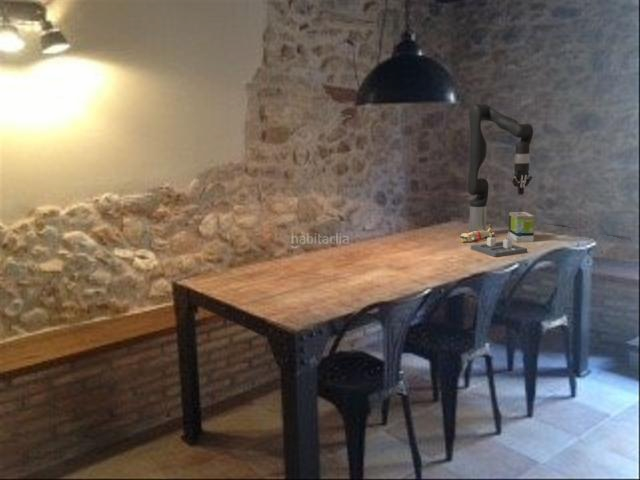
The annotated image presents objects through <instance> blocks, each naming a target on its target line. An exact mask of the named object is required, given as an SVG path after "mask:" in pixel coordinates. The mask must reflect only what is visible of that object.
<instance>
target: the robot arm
mask: <svg viewBox="0 0 640 480" xmlns="http://www.w3.org/2000/svg"><path fill="white" fill-rule="evenodd" d="M468 113H469V116H468V118H469V133H470V134H469V138H470V139H469V140H470V141H469V162H468V163H469V166H468V167H469V168H468V177H467V184H466V185H467V188H466V189H467V192H468V194H469V195H470V196H476V197H475V198H473V199H472V200H471V201H470V203H469V218H468V233H469V232H470V231H471V230H472V231H471V232H474V231H487V203H488V200H489V199H488V198H489V182H488V180H487V179H486V178H484V177H483V178H479V171H480V168H481V166H482V165H483V163H484V161H485V159H486V157H487V142H486V139H485V137H484V135H483V132H482V128H481V127H482V126H481V123H482V121H488V122H492V123H495V125H496V127H498V128H500V129H501V130H504V131H506V132H508V133H509V134H511V135H512V136H513V137H515V138H518V139H520V141H519V142H516V143H515V150H514V151H515V152H514V153H515V154H514V161H513V162H514V167H513V168H514V170H513V171H514V176H513V177H510V181H511V182H512V184H513V186H514V187H516V188H517V194H518V195H520V196H523V195H524V193H525V187H528V186H529V184H530V182H531V181H532V179H533V176H530V173H529V171H530V160H531V159H530V158H531V157H530V147H531V146H530V145H531V143H532V139H533V136H534V128H533V125H532V124H530V123H518V120H516V119H514V118H512V117H510V116H507V115H504V114H503V113H501V112H499V111H498V110H496V109H494V108H493V107H491V106H490V105H488V104H485V103H478V104H477V103H475V104H472V106H470V109H469V112H468Z"/></svg>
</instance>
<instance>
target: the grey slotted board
mask: <svg viewBox="0 0 640 480" xmlns="http://www.w3.org/2000/svg"><path fill="white" fill-rule="evenodd" d="M470 250H473V251H476V252H478V253H481V254H485V255H488V256H490V257H493V258H498V257H505V256H513V255H518V254H527V253H528V248H526V247H523V246H520V245H516V244H513V243H512V248H504V247H503V241H495V246H488V245H487V242H486V243H480V244H472V245H470Z"/></svg>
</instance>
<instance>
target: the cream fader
mask: <svg viewBox="0 0 640 480" xmlns="http://www.w3.org/2000/svg"><path fill="white" fill-rule="evenodd" d="M495 242H496V237H491V236H489V237H486V243H487V245H488V246H495Z"/></svg>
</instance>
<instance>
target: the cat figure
mask: <svg viewBox="0 0 640 480" xmlns="http://www.w3.org/2000/svg"><path fill="white" fill-rule="evenodd" d="M492 229H493V224H492V223H489V224H488V229H486V231H474V232H471V231H472V230H471V231H470V232H469V231H468V232H467V233H466V232H464V233H461V235H460V239H459V240H460V241H461V243H462V242H463V243H465V242H470V243H471V242H473V241H475V239H476V238H478V240H477V242H478V241H481V239H482V237H483V238H485V237H486V238H489V236H491V237H493V238H496V232H491V230H492Z"/></svg>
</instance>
